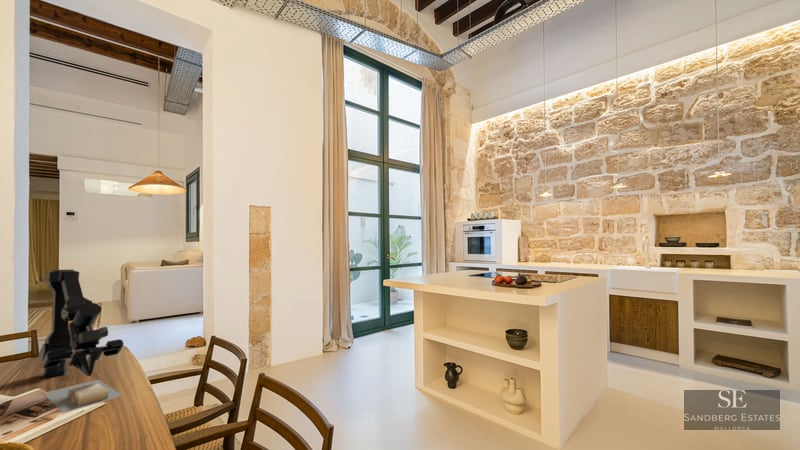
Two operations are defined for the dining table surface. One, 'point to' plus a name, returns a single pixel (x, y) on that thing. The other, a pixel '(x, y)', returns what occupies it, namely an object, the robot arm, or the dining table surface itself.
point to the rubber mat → (65, 404)
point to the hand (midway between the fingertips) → (89, 375)
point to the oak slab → (88, 394)
